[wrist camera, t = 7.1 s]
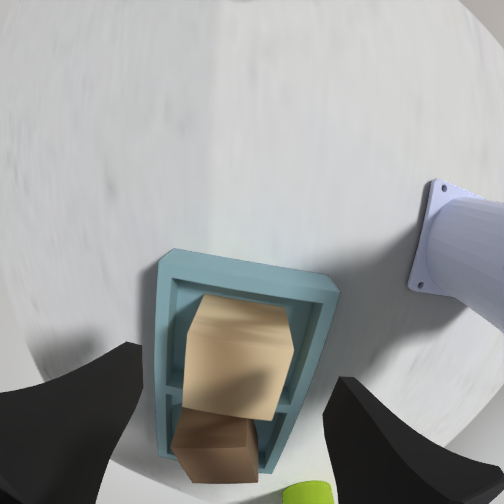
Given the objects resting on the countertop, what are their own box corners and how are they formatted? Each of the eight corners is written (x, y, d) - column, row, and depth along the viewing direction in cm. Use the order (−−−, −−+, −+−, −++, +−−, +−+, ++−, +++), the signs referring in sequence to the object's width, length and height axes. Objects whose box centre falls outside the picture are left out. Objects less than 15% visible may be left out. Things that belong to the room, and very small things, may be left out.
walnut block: (248, 396, 20) (246, 446, 15) (258, 436, 21) (258, 482, 16) (184, 400, 20) (170, 447, 15) (201, 439, 21) (192, 482, 16)
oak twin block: (284, 306, 18) (294, 350, 13) (268, 370, 19) (271, 420, 14) (205, 293, 18) (187, 333, 13) (197, 358, 19) (182, 406, 14)
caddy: (328, 275, 18) (340, 292, 15) (270, 450, 23) (271, 473, 20) (173, 248, 18) (158, 260, 15) (165, 433, 22) (158, 455, 19)
